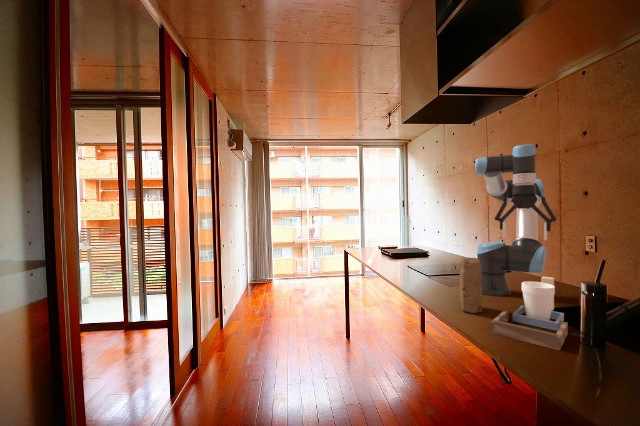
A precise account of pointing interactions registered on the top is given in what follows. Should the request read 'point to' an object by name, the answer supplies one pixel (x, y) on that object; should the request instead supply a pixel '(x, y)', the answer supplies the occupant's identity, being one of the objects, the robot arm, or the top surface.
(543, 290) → the foam cup
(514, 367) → the top surface
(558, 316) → the tray
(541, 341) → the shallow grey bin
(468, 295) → the block
